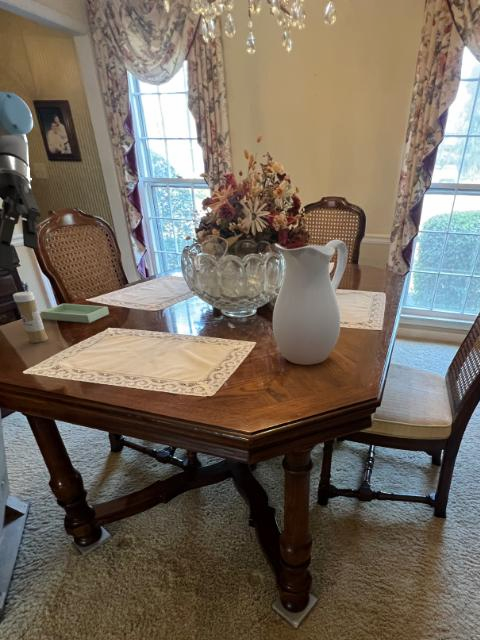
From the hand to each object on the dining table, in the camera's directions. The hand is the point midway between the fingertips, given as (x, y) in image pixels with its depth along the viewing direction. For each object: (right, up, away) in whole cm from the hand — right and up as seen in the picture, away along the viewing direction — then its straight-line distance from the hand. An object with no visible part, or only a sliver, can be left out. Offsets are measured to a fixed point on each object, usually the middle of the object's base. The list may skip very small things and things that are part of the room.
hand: (18, 258), depth 94 cm
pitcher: (+74, -23, +7) cm, 78 cm away
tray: (-6, -7, +34) cm, 35 cm away
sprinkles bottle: (-5, -18, +14) cm, 24 cm away
